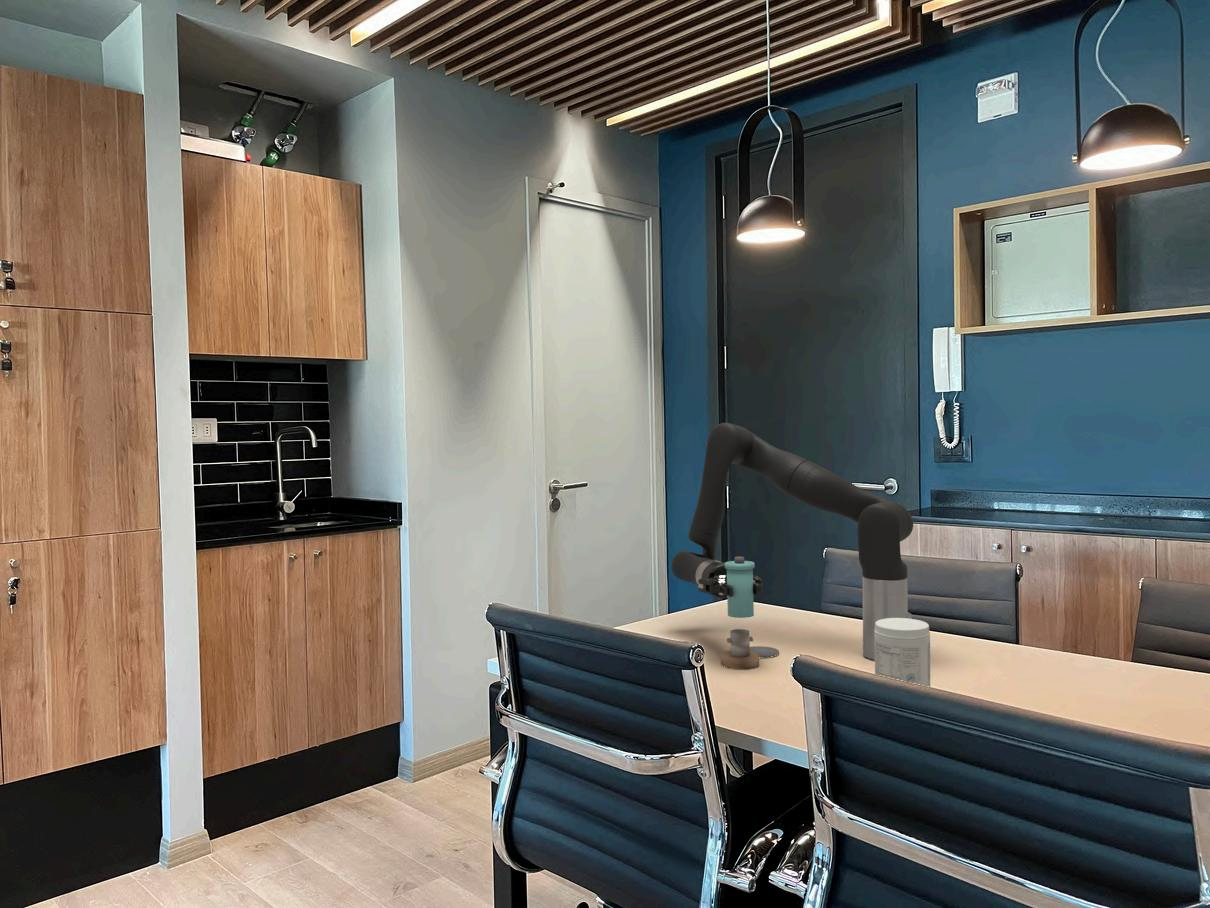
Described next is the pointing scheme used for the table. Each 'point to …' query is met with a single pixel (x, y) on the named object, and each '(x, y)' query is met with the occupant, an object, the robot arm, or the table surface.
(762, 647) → the pad
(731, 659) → the post
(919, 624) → the supplement tub
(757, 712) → the table surface
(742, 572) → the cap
